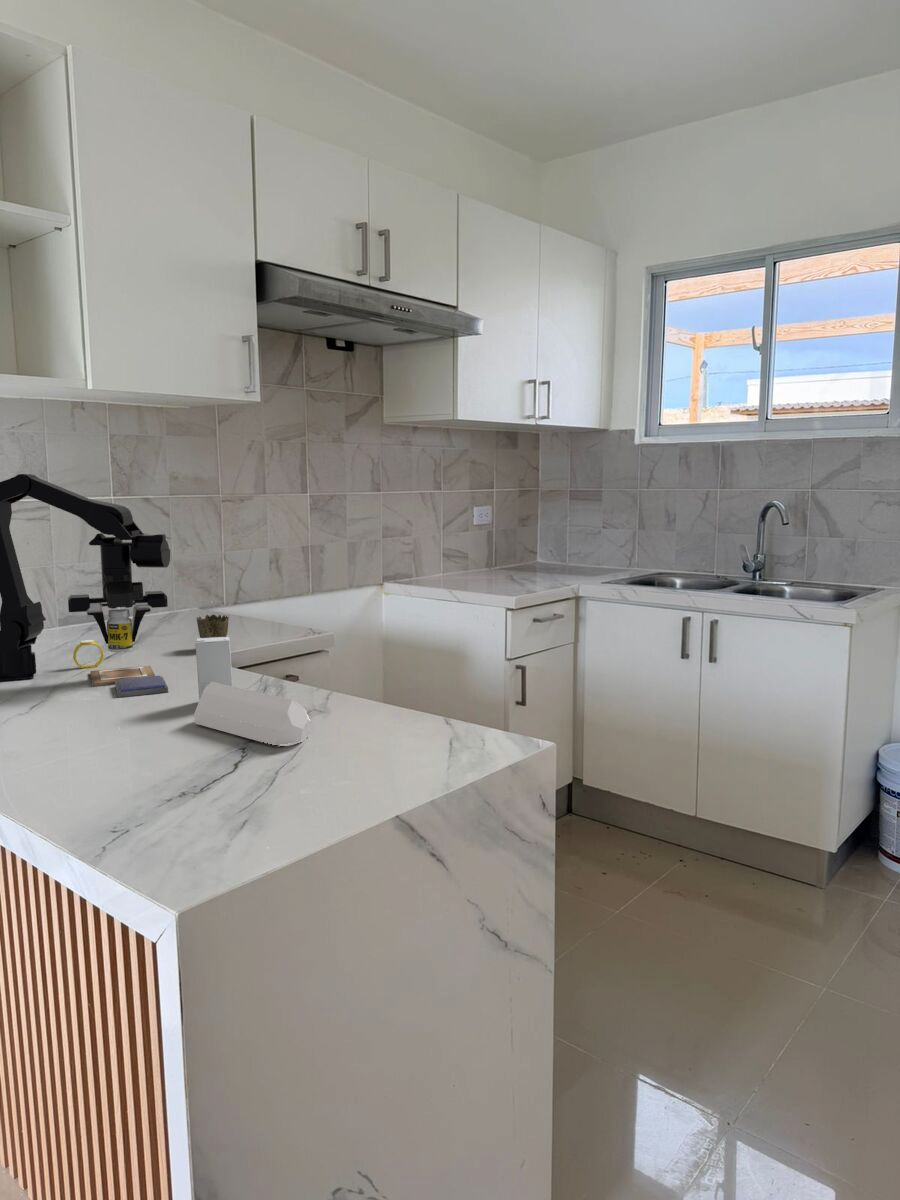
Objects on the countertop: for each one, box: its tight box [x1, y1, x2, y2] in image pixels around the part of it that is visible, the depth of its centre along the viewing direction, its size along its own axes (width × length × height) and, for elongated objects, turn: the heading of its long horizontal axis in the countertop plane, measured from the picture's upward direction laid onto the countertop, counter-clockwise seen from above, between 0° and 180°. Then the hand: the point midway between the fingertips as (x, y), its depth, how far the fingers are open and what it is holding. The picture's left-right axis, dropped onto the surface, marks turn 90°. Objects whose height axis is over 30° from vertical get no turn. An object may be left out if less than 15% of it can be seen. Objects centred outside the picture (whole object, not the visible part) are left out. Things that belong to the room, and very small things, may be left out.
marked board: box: [89, 665, 156, 687], centre depth 173 cm, size 12×12×1 cm
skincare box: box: [194, 636, 233, 701], centre depth 152 cm, size 6×4×12 cm
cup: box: [196, 614, 230, 638], centre depth 201 cm, size 8×7×8 cm
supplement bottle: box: [106, 608, 134, 653], centre depth 172 cm, size 5×5×8 cm
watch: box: [72, 639, 105, 669], centre depth 182 cm, size 6×3×6 cm, turn 122°
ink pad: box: [114, 675, 169, 698], centre depth 163 cm, size 9×9×2 cm
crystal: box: [193, 682, 312, 746], centre depth 136 cm, size 7×7×24 cm
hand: (120, 642), depth 172 cm, fingers closed on supplement bottle, 5 cm apart
